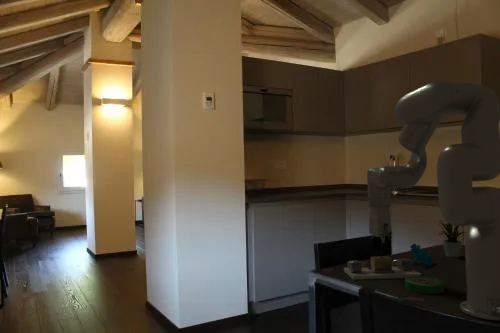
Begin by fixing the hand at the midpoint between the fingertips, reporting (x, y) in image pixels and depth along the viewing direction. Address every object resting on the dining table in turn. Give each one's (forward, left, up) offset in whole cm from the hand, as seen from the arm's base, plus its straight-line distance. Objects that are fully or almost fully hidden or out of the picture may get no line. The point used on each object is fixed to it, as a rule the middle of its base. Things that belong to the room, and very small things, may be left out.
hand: (381, 252), depth 140 cm
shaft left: (+1, +8, -7) cm, 10 cm away
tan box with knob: (+1, 0, -6) cm, 6 cm away
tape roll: (-17, -7, -8) cm, 20 cm away
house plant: (+27, -38, -8) cm, 47 cm away
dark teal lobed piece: (+13, -20, -8) cm, 26 cm away
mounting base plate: (+1, 0, -8) cm, 8 cm away
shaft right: (+2, -8, -6) cm, 10 cm away
